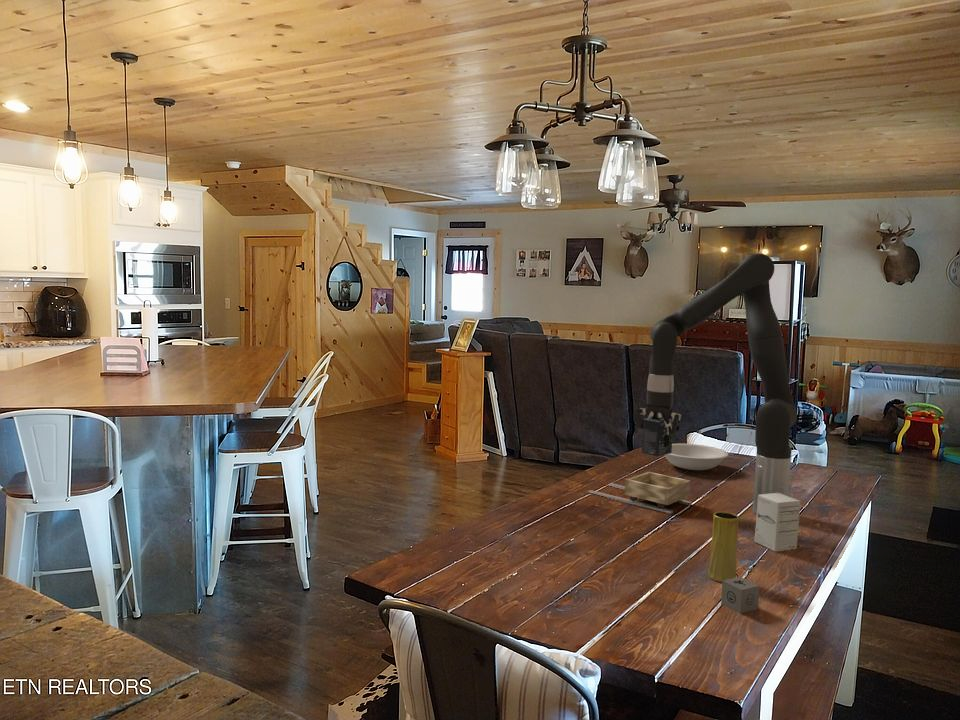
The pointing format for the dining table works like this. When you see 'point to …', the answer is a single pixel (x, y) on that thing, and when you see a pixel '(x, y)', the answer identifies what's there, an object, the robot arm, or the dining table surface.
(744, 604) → the grey cube
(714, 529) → the vase
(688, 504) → the rails
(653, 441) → the box
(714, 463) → the soup bowl
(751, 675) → the dining table surface
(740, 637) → the dining table surface
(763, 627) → the dining table surface
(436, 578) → the dining table surface
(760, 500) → the supplement box
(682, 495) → the light wooden open box
